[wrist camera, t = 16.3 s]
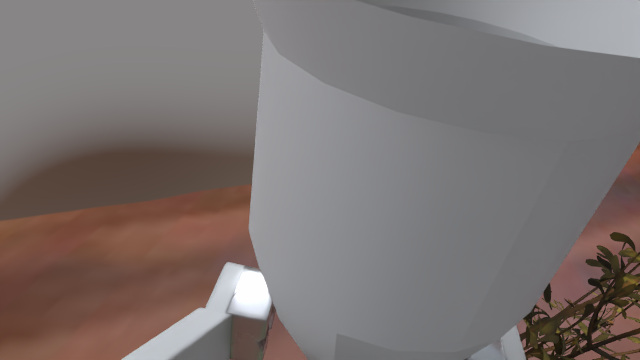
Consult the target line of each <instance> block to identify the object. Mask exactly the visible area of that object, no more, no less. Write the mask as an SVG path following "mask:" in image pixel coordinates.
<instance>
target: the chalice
mask: <svg viewBox="0 0 640 360" xmlns="http://www.w3.org/2000/svg"><path fill="white" fill-rule="evenodd" d="M252 2H253V4H254V7H255V9H256V12H257V14H258V17H259V19H260V22H261V24H262V27H263V30H264V34H263V47H262V60H261V73H260V86H259V100H258V113H257V126H256V140H255V153H254V166H253V180H252V192H251V205H250V218H249V232H250V236H251V240H252V243H253V247H254V251H255V254H256V258H257V262H258V265H259V268H260V270H261V273H262V275H263V278H264V281H265V283H266V286H267V288H268V291H269V293H270V296H271V299H272V301H273V304H274V306H275V309H276V311H277V314H278V317H279V319H280V321H281V322H282V323H283V325H284V326H285V328H286V329H287V331H288V332H289V333H290V335H291V336H292V338H293V339H294V341H295V342H296V343H297V345H298V346H299V348H300V349H301V350H302V352H303V353H304V355H305V356H306V358H307V359H308V360H464V359H466V358H468V357H470V356H471V355H473V354H475V353H476V352H478V351H480V350H481V349H483V348H485V347H486V346H488V345H490V344H491V343H493V342H495V341H496V340H498V339H500V338H502V337H503V336H504V335H505V334H506V333H507V332H508V331H510V330H511V329H512V328H513V327H514V326H515V325H516V324H517V323H519V322H520V321H521V320H522V319H523V318H524V317H525V316H526V315H528V314H529V313H530V312H531V310H532V309H533V307H534V306H535V304H536V303H537V301H538V300H539V298H540V296H541V295H542V293H543V292H544V290H545V289H546V287H547V286H548V284H549V282H550V281H551V279H552V278H553V276H554V275H555V273H556V272H557V270H558V268H559V267H560V265H561V264H562V262H563V261H564V259H565V258H566V256H567V254H568V253H569V251H570V250H571V248H572V247H573V245H574V244H575V242H576V240H577V239H578V237H579V236H580V234H581V233H582V231H583V230H584V228H585V226H586V225H587V223H588V222H589V220H590V219H591V217H592V216H593V214H594V212H595V211H596V209H597V208H598V206H599V205H600V203H601V202H602V200H603V198H604V197H605V195H606V194H607V192H608V191H609V189H610V188H611V186H612V184H613V183H614V181H615V180H616V178H617V177H618V175H619V174H620V172H621V170H622V169H623V167H624V166H625V164H626V163H627V161H628V160H629V158H630V156H631V155H632V153H633V152H634V150H635V149H636V147H637V146H638V144H639V142H640V0H252Z"/></svg>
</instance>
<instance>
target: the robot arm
mask: <svg viewBox="0 0 640 360" xmlns="http://www.w3.org/2000/svg"><path fill="white" fill-rule="evenodd" d="M275 312H276V309H275V306H274V304H273V301H272V299H271V296H270V293H269V291H268V288H267V286H266V283H265V281H264V278H263V275H262V273H261V270H260V269H257V268H253V267H249V266H243V265H239V264H234V263H230V262H227V263H226V265H225V266H224V268H223V270H222V272H221V274H220V277H219V279H218V281H217V283H216V285H215V288H214V290H213V292H212V294H211V297H210V299H209V301H208V303H207V306H206V308H205V309H204V308H198V309H197V310H195V311H194V312H192V313H191V314H189V315H188V316H186V317H185V318H183V319H182V320H180V321H179V322H177V323H176V324H174V325H173V326H171V327H170V328H168V329H167V330H165V331H164V332H162V333H161V334H159V335H158V336H156V337H155V338H153V339H152V340H150V341H149V342H147V343H146V344H144V345H143V346H141V347H140V348H138V349H137V350H135V351H134V352H132V353H130V354H129V355H127V356H126V357H124V358H123V359H122V360H230V359H232V360H263V357H264V354H265V350H266V347H267V343H268V336H269V330H270V329H271V328H272V325H273V321H274V317H275ZM464 360H526V357H525V353H524V350H523V347H522V343H521V340H520V336H519V333H518V329H517V326H516V325H515V326H514V327H513V328H512V329H511V330H510V331H508V332H507V333H506V334H505V335H504V336H503V337H502V338H500V339H498V340H496V341H495V342H493V343H491V344H490V345H488V346H486V347H485V348H483V349H481V350H480V351H478V352H476V353H475V354H473V355H471V356H470V357H468V358H466V359H464Z"/></svg>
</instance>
